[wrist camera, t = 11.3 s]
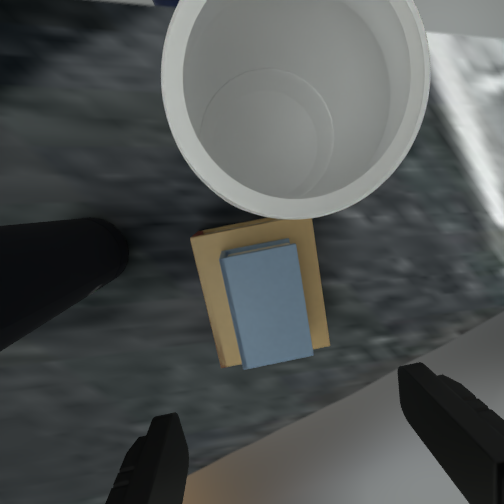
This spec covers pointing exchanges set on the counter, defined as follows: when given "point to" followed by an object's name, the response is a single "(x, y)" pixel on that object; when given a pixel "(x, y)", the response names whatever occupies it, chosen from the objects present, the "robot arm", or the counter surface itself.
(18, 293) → the wine bottle
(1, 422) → the counter surface
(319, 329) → the big book
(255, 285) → the pocket book
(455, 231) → the counter surface
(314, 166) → the jar
